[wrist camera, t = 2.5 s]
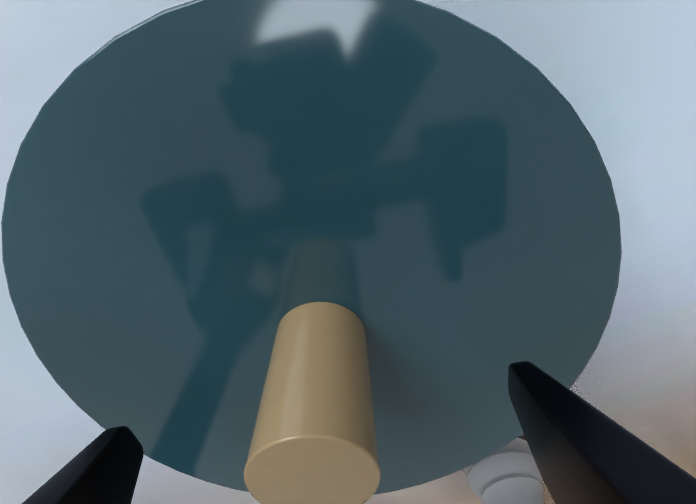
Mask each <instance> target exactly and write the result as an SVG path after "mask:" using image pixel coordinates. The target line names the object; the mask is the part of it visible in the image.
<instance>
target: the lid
mask: <svg viewBox="0 0 696 504" xmlns="http://www.w3.org/2000/svg"><path fill="white" fill-rule="evenodd" d="M1 225H2V256H3V264H4V269H5V274H6V279H7V284H8V289H9V294H10V297H11V300H12V303H13V305H14V308H15V311H16V313H17V316H18V319H19V321H20V324H21V327H22V329H23V331H24V333H25V334H26V336H27V338H28V340H29V342H30V344H31V345H32V347H33V349H34V351H35V353H36V355H37V356H38V358H39V359H40V361H41V362H42V363H43V365H44V366H45V368H46V369H47V370H48V372H49V373H50V374H51V376H52V377H53V379H54V380H55V381H56V383H57V384H58V385H59V386H60V387H61V388H62V389H63V390H64V391H65V393H66V394H67V395H68V396H69V397H70V398H71V399H72V400H73V401H74V402H75V403H76V404H77V406H78V407H80V408H81V409H82V410H83V411H84V412H85V413H86V414H88V415H89V416H90V417H91V418H92V419H93V420H95V421H96V422H97V423H98V424H99V425H100V426H101V427H103V428H104V429H106V430H107V429H109V428H113V427H119V426H127V427H128V428H129V429H130V430H131V431H132V432H133V434H134V435H135V436H136V438H137V439H138V440H139V442H140V443H141V445H142V447H143V454H144V455H146V456H148V457H149V458H151V459H153V460H155V461H158V462H160V463H162V464H164V465H166V466H168V467H170V468H173V469H175V470H177V471H179V472H182V473H185V474H187V475H190V476H193V477H195V478H198V479H201V480H204V481H207V482H210V483H214V484H217V485H221V486H225V487H228V488H232V489H236V490H241V491H246V492H250V494H251V495H252V496H253V497H254V498H255V499H256V500H257V501H259V502H260V503H261V504H363V503H365V502H366V501H367V500H368V499H370V498H371V497H372V496H373V495H375V494H380V493H386V492H392V491H397V490H401V489H405V488H409V487H412V486H416V485H420V484H424V483H427V482H430V481H433V480H435V479H438V478H441V477H444V476H447V475H450V474H452V473H454V472H457V471H459V470H461V469H463V468H466V467H468V466H470V465H472V464H475V463H476V462H478V461H480V460H482V459H484V458H486V457H487V456H489V455H491V454H493V453H495V452H496V451H498V450H500V449H501V448H503V447H504V446H506V445H507V444H509V443H510V442H512V441H513V440H515V439H516V438H518V437H519V436H521V435H522V434H523V430H522V428H521V425H520V422H519V420H518V417H517V415H516V412H515V410H514V407H513V405H512V402H511V400H510V396H509V392H508V367H509V365H510V364H511V363H515V362H521V361H529V362H531V363H533V364H534V365H535V366H537V367H538V368H540V369H541V370H542V371H544V372H545V373H547V374H548V375H550V376H551V377H552V378H554V379H555V380H557V381H558V382H559V383H561V384H562V385H564V386H565V387H567V388H568V389H570V387H571V386H572V385H573V383H574V382H575V381H576V379H577V378H578V377H579V376H580V374H581V373H582V372H583V370H584V368H585V366H586V365H587V363H588V361H589V360H590V358H591V356H592V355H593V353H594V351H595V350H596V348H597V346H598V344H599V342H600V339H601V337H602V334H603V332H604V330H605V327H606V325H607V323H608V320H609V318H610V314H611V311H612V307H613V303H614V299H615V296H616V292H617V288H618V281H619V271H620V262H621V236H620V219H619V213H618V209H617V204H616V200H615V196H614V191H613V187H612V183H611V179H610V176H609V174H608V172H607V169H606V167H605V165H604V162H603V160H602V158H601V155H600V153H599V151H598V148H597V146H596V144H595V141H594V139H593V138H592V136H591V135H590V133H589V132H588V130H587V129H586V127H585V126H584V124H583V123H582V121H581V119H580V118H579V116H578V115H577V113H576V112H575V110H574V109H573V107H572V106H571V104H570V103H569V102H568V101H567V99H566V98H565V97H564V96H563V95H562V94H561V93H560V92H559V91H558V90H557V89H556V88H555V87H554V85H553V84H552V83H551V82H550V81H549V80H548V79H547V78H546V77H545V76H544V75H543V74H542V73H541V71H540V70H539V69H538V68H537V67H535V66H534V65H533V64H531V63H530V62H529V61H527V60H526V59H525V58H523V57H522V56H521V55H520V54H518V53H517V52H516V51H514V50H513V49H512V48H510V47H509V46H508V45H507V44H505V43H504V42H503V41H501V40H500V39H499V38H497V37H496V36H494V35H492V34H490V33H488V32H486V31H485V30H483V29H481V28H479V27H477V26H475V25H473V24H471V23H469V22H468V21H466V20H464V19H462V18H460V17H458V16H456V15H454V14H452V13H451V12H449V11H446V10H443V9H440V8H437V7H434V6H431V5H428V4H425V3H422V2H419V1H416V0H193V1H190V2H187V3H184V4H181V5H178V6H175V7H172V8H169V9H166V10H163V11H161V12H159V13H157V14H156V15H154V16H152V17H150V18H148V19H146V20H145V21H143V22H141V23H139V24H137V25H135V26H134V27H132V28H130V29H128V30H126V31H124V32H122V33H121V34H119V35H117V36H115V37H114V38H113V39H111V40H110V41H109V42H108V43H106V44H105V45H104V46H103V47H101V48H100V49H99V50H98V51H96V52H95V53H94V54H93V55H91V56H90V57H89V58H88V59H86V60H85V61H84V62H83V63H81V64H80V65H79V66H78V67H76V68H75V69H74V70H73V71H72V73H71V74H70V75H69V76H68V77H67V78H66V80H65V81H64V82H63V83H62V84H61V85H60V87H59V88H58V89H57V90H56V91H55V92H54V94H53V95H52V96H51V97H50V98H49V99H48V101H47V102H46V103H45V104H44V105H43V107H42V108H41V110H40V112H39V114H38V115H37V117H36V119H35V121H34V122H33V124H32V126H31V128H30V129H29V131H28V133H27V135H26V136H25V138H24V140H23V142H22V143H21V145H20V148H19V151H18V154H17V157H16V160H15V163H14V166H13V169H12V171H11V174H10V177H9V180H8V183H7V188H6V195H5V202H4V209H3V216H2V222H1Z"/></svg>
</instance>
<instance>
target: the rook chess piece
mask: <svg viewBox="0 0 696 504" xmlns="http://www.w3.org/2000/svg"><path fill="white" fill-rule="evenodd" d="M462 470H463V471H464V472H465V473H466V474H467V479H468V485H469V487H470V488H471V490H472V491H473V492H474V494H475V495H476V496H477V497H478V498H480V499H482V504H544V501H543V496H542V495H543V486H542V485H541V483H542V476H541V474H540V472H539V470H538V468H537V465H536V463H535V460H534V458H533V455H532V453H531V450H530V448H529V445H528V443H527V441H526V440H524V439H522V438H520V437H518V438H516V439H515V440H513V441H512V442H510V443H509V444H507V445H506V446H504V447H503V448H501V449H500V450H498V451H496V452H495V453H493V454H491V455H489V456H487V457H486V458H484V459H482V460H480V461H478V462H476V463H475V464H472V465H470V466H468V467H466V468H463V469H462Z"/></svg>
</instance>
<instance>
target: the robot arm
mask: <svg viewBox="0 0 696 504" xmlns="http://www.w3.org/2000/svg"><path fill="white" fill-rule="evenodd" d="M508 392H509V396H510V400H511V402H512V405H513V407H514V410H515V412H516V415H517V417H518V420H519V422H520V425H521V428H522V430H523V433H524V435H525V438H526V440H527V443H528V445H529V448H530V450H531V453H532V455H533V458H534V460H535V463H536V465H537V468H538V470H539V472H540V474H541V476H542V478H543V480H544V482H545V484H546V486H547V488H548V490H549V492H550V494H551V496H552V498H553V500H554V502H555V504H696V479H695V478H694V477H693V476H691V475H690V474H688V473H687V472H685V471H684V470H683V469H681V468H680V467H678V466H677V465H676V464H674V463H673V462H671V461H670V460H668V459H667V458H666V457H664V456H663V455H661V454H660V453H659V452H657V451H656V450H654V449H653V448H651V447H650V446H649V445H647V444H646V443H644V442H643V441H642V440H640V439H639V438H637V437H636V436H635V435H633V434H632V433H630V432H629V431H627V430H626V429H625V428H623V427H622V426H620V425H619V424H618V423H616V422H615V421H613V420H612V419H610V418H609V417H608V416H606V415H605V414H603V413H602V412H601V411H599V410H598V409H596V408H595V407H593V406H592V405H591V404H589V403H588V402H586V401H585V400H584V399H582V398H581V397H579V396H578V395H576V394H575V393H574V392H572V391H571V390H569V389H568V388H567V387H565V386H564V385H562V384H561V383H559V382H558V381H557V380H555V379H554V378H552V377H551V376H550V375H548V374H547V373H545V372H544V371H542V370H541V369H540V368H538V367H537V366H535V365H534V364H533V363H531V362H529V361H521V362H515V363H511V364H510V365H509V367H508ZM142 459H143V447H142V445H141V443H140V442H139V440H138V439H137V438H136V436H135V435H134V434H133V432H132V431H131V430H130V429H129V428H128V427H127V426H119V427H113V428H109V429H107V430H105V431H104V432H103V433H102V434H101V435H99V436H98V437H97V438H96V439H95V440H94V441H93V442H91V443H90V444H89V445H88V446H87V447H86V448H85V449H83V450H82V451H81V452H80V453H79V454H78V455H77V456H76V457H74V458H73V459H72V460H71V461H70V462H69V463H68V464H66V465H65V466H64V467H63V468H62V469H61V470H60V471H59V472H57V473H56V474H55V475H54V476H53V477H52V478H51V479H49V480H48V481H47V482H46V483H45V484H44V485H43V486H41V487H40V488H39V489H38V490H37V491H36V492H35V493H34V494H32V495H31V496H30V497H29V498H28V499H27V500H26V501H24V502H23V503H22V504H131V501H132V497H133V493H134V489H135V485H136V482H137V478H138V474H139V470H140V467H141V463H142Z"/></svg>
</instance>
